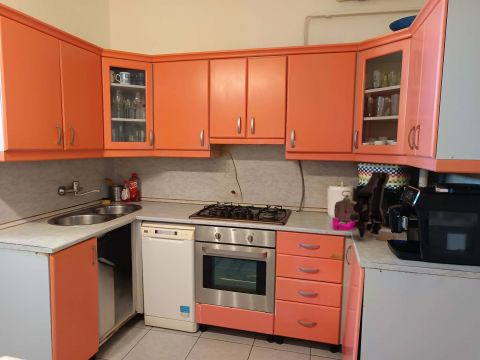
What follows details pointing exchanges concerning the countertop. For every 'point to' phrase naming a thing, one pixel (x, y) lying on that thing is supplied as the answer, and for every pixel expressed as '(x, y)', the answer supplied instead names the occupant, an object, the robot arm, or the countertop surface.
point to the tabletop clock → (344, 209)
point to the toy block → (343, 225)
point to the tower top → (386, 233)
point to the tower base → (385, 238)
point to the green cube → (365, 235)
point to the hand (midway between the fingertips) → (364, 236)
